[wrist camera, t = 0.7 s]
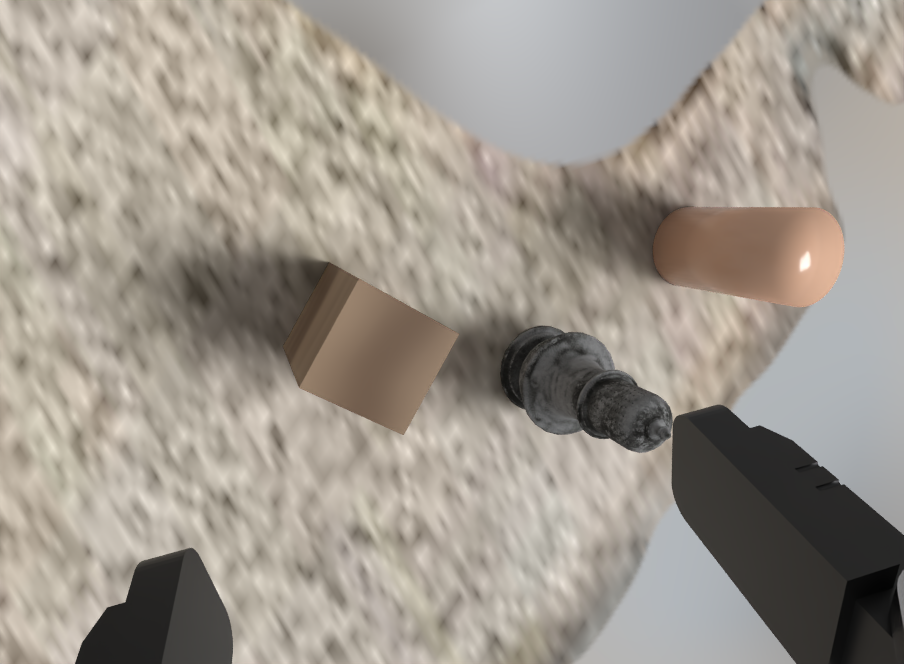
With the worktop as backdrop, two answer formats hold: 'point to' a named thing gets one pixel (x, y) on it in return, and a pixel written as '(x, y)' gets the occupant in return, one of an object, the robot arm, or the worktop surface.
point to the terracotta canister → (752, 252)
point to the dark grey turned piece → (581, 390)
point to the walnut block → (366, 350)
